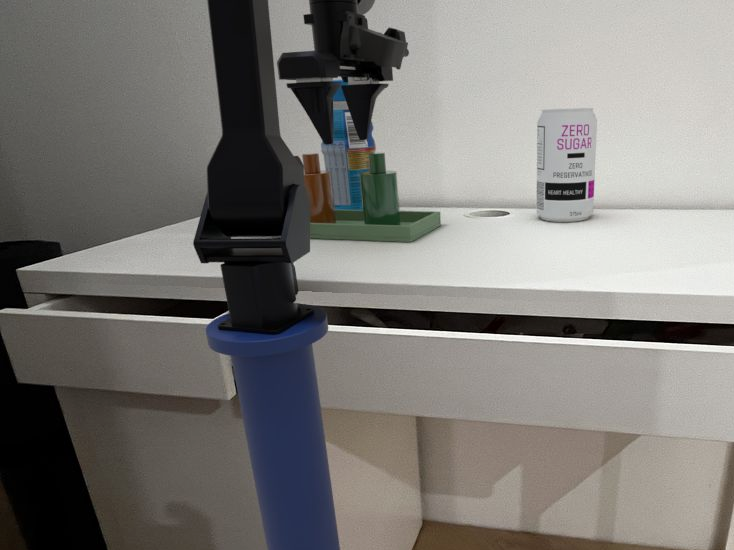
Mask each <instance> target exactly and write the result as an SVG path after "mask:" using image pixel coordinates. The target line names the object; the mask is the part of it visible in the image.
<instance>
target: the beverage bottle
mask: <svg viewBox="0 0 734 550" xmlns="http://www.w3.org/2000/svg"><path fill="white" fill-rule="evenodd" d="M333 81H336V82H342V84H341V85H348V82H343V80H342V79H333ZM333 117H334V137H333V144H324V143H323V141H322V140H321V143H320V150H321V153H322V155H323V161H324V171H330V172H331V178H332V187H333V196H334V205H335V209H341V210H363V206H362V196H361V185H360V175H359V174H360V173H362V172H369V171H370V168H369V157H368V154H369V153H376V150H377V144H376V140H375V139H374V137H373V131H374V124H373V121H372V120H371V124H370V130H369V135H368V139H367V140H360V139H359V137H358V134H357V132H356V129H355V127H354V124H353V121H352V118H351V115H350V112H349V109H348V106H347V103H346V100H345V97H344V94H343V91H342V88H341V86H340V87H339V89H338V90H337V92H336V94H335V95H334V97H333Z"/></svg>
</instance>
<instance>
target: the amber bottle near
mask: <svg viewBox="0 0 734 550" xmlns="http://www.w3.org/2000/svg"><path fill="white" fill-rule="evenodd" d="M301 156H302V163H303V165H304V184H305V188H306V189H307V192H308V195H309V199H310V223H334V224H337V223H336V214H335V205H334V196H333V187H332V178H331V172H330V171H325V170H321V164H320V155H319V153H317V152H308V153H307V152H306V153H302V154H301Z"/></svg>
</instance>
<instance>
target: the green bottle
mask: <svg viewBox="0 0 734 550" xmlns="http://www.w3.org/2000/svg"><path fill="white" fill-rule="evenodd" d="M368 157H369V168H370V171H369V172H362V173H360V174H359V175H360V185H361V196H362V206H363V217H364V224H368V225H401V222H400V211H401V209H400V198H399V197H400V195H399V184H398V183H399V181H398V172H397V171H396V170H387V163H386V162H387V161H386V153H385V152H375V153H369V154H368Z"/></svg>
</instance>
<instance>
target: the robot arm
mask: <svg viewBox="0 0 734 550" xmlns="http://www.w3.org/2000/svg"><path fill="white" fill-rule="evenodd" d="M375 1H376V0H308V5H309V12H310V13H307V14H306V13H305V14H303V24H304V25H306V26H307V25H308V26H311V31H312V41H313V49H314V50H306V51H305V50H304V51H289V52H282V53H281V54H280V56H279V58H278V59H277V61H276V67H277V75H278V80H280V81H295V82H287V83H285V85H286V88H287V89H290V90H291V91H292V93H293V95H294V96H295V98H296V99H297V100H298V102H299V104H300V105H301V107H302V108H303V110H304V111H305V113H306V115H307V117H308V118H309V121H310V122H311V123H312V126H313V127H314V129H315V130H316V132H317V134H318V136H319V138H320V139H321V142H322V141H323V143H324V144H333V137H334V117H333V97H334V95H335V94H336V92H337V90H338V89H339V87H340V86H341V88H342V91H343V94H344V97H345V100H346V103H347V106H348V109H349V112H350V115H351V118H352V121H353V124H354V127H355V129H356V132H357V134H358V137H359V139H360V140H367V139H368V135H369V130H370V124H371V121H372V119H373V113H374V109H375V106H376V101H377V98H378V97H379V95H380V94H381V93H382V92H383V91H384V90H385V89H387V88H388V87H389V85H390V84H389V83H381V82H393V81H394V75H393V68H395V69H396V70H401V67H402V64H403V59H404V58H406V57H408V56H409V55H410V51H409V49H408V45H409V42H407V40H406V39H407V38H406V33H405V32H404V31H403V30H400V29H397V28H393V27H388V28H387V29H386V30H385V32H384V33H382V32H379V31H375V30H373V29H370V28H369V23H368V19H367V17H366V15H365V14H367V13H368V12H370V10H371V9H372V8H373V7H374V5H375ZM207 10H208V19H209V20H208V21H209V27H210V28H209V29H210V37H211V38H210V39H211V45H212V46H211V47H212V54H213V55H212V56H213V63H214V73H215V81H216V87H217V88H216V89H217V97H218V107H219V116H220V125H221V137H220V139H219V141H218V142H217V145H216V147H215V149H214V151H213V153H212V155H211V156H210V159H209V162H208V163H207V166H206V188H207V189H206V190H207V191H206V192H207V193H206V195H205V199H204V202H203V205H202V210H201V212H200V216H199V220H198V224H197V227H196V231H195V234H194V237H193V242H192V245H193V248H194V250H195V252H196V255H197V258H198V259H199V262H200V263H201V264H209V263H221V264H220V265H219V267H220V271H221V276H222V283H223V287H224V292H225V298H226V303H227V309H228V313H229V314H230V318H229V319H227V320H225V321H223V322H221V323H219V324H218V325H217V326H218V330H224V331H235V332H246V333H256V334H267V335H278V334H281V333H282V332H284V331H286V330H287V329H289V328H291V327H292V326H294V325H296V324H297V323H299V322H301V321H302V320H304V319H306V318H307V317H309V316H311V315H312V314H314V309H313V308H305V307H299V305H300V304H301V303H300V302H296V301H297V295H298V293H299V286H298V279H297V271H296V266H295V265H294V263H295V262H297V261H298V260H300V259H301V258H303V257H305V256H306V255H307V254H309V253H310V252H311V238H310V199H309V195H308V192H307V189H306V188H305V184H304V165H303V160H302V159H301V158H300V156H299V155H294V154H293V153H292V151H291V150H290V148H289V147H288V145H287V144H286V142H285V141H284V140H283V138H282V136H281V129H280V128H281V127H280V118H279V105H278V97H277V96H278V95H277V85H276V84H277V83H276V74H275V62H274V52H273V40H272V29H271V28H272V27H271V18H270V7H269V0H207ZM338 78H341V80H343V82H348V85H341V84H342V82H336V81H333V80H334V79H338Z"/></svg>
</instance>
